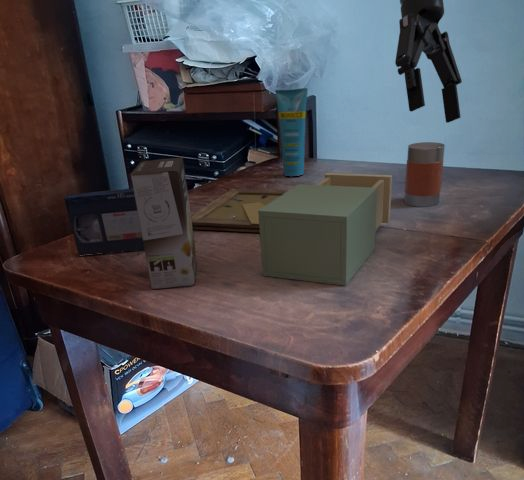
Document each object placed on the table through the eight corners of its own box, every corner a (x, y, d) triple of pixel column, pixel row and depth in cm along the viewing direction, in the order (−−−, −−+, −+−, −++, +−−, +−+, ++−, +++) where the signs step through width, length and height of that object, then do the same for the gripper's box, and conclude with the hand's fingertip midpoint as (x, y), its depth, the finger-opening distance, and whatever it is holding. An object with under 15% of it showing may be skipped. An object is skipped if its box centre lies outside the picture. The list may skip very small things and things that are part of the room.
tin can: (442, 198, 105) (447, 142, 100) (435, 207, 100) (441, 149, 95) (408, 196, 108) (412, 141, 103) (400, 205, 103) (404, 148, 98)
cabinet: (300, 242, 89) (298, 184, 84) (374, 249, 84) (377, 187, 79) (262, 275, 78) (257, 210, 73) (346, 286, 73) (346, 216, 68)
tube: (277, 178, 130) (273, 90, 120) (280, 173, 134) (276, 88, 124) (308, 177, 128) (306, 88, 119) (310, 172, 132) (308, 86, 123)
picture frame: (277, 234, 93) (314, 197, 112) (276, 224, 92) (314, 189, 111) (183, 229, 99) (233, 195, 118) (181, 220, 98) (232, 187, 117)
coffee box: (195, 286, 76) (179, 170, 68) (151, 290, 76) (128, 174, 68) (198, 262, 84) (183, 156, 76) (157, 266, 84) (138, 160, 76)
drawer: (335, 210, 100) (335, 167, 96) (395, 214, 96) (398, 169, 92) (299, 241, 87) (297, 193, 83) (368, 247, 82) (369, 196, 78)
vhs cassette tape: (77, 257, 90) (62, 198, 85) (81, 251, 93) (66, 193, 88) (186, 247, 91) (177, 187, 86) (187, 241, 93) (178, 183, 88)
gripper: (435, 27, 111) (449, 131, 112) (364, -11, 94) (381, 111, 95) (470, 8, 105) (484, 117, 106) (402, -37, 88) (419, 93, 89)
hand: (436, 114), depth 100 cm, fingers open, 13 cm apart
